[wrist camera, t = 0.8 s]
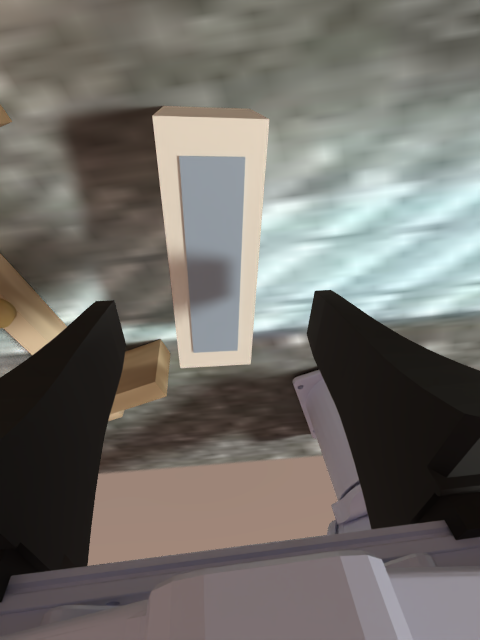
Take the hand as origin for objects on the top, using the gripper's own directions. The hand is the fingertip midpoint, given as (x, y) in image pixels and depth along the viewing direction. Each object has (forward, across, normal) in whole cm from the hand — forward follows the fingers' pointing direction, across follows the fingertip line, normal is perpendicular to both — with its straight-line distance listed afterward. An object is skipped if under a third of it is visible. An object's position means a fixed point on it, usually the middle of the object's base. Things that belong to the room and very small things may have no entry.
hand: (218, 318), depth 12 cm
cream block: (+8, 0, 0) cm, 9 cm away
